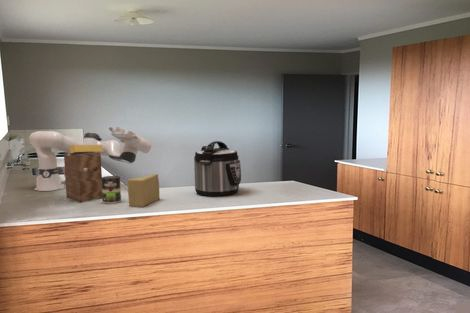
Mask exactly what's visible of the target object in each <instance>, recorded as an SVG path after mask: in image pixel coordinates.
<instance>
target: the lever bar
mask: <svg viewBox="0 0 470 313" xmlns="http://www.w3.org/2000/svg"><path fill="white" fill-rule="evenodd" d="M85 152H94V153H100V152H103V146H102V145H73V146H70V153H85Z"/></svg>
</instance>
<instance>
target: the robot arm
mask: <svg viewBox="0 0 470 313" xmlns="http://www.w3.org/2000/svg"><path fill="white" fill-rule="evenodd" d="M108 131H110V135H111V136H113V137H114V138H116V139H117V140H119V142H120V143H119V142H118V141H117V140H116V139H110V140H105V141H102V140H103V139H102V138H101V137H100V135H99V134H97V133H95V132H94V131H93V132H92V131H89V132H86V133H85V134H84V136H83V141H81V140H80V139H77V138H75V137H71V136H68V135H63V134H62V133H61V132H58V131H54V130H38V131H34V132H31V133H30V135H29V137H28V141H29V144H30V145H31V146H33V148H34V150H35V153H36V155H37V159H38V171H37V172H38V176H36V187H35V188H34V189H33V190H34V191H39V192H49V191H57V190H58V191H59V190H64V189H65V184H64V183H63V182H62V180H61V176H60V174H59V168H58V160H57V159H58V158H57V155H56V154H55V153H54V152H53V150H52V149H54V150H56V151H58V152H63V153H70V146H73V145H102V146H103V152H100V154H101V156H105V157H108V158H110V159H111V160H112V161H113V160H114V161H118V162H122V163H124V164H125V163H126V164H133V163H134V162H135V161H136V159H137V154H138V151H139V152H141V153H143V154H148V153H149V152H150V150H151V148H152V143H151V142H150V141H148V140H147V139H146V138H144V137H143V136H140V135H139V134H137V133H136V132H134V131H133V130H130V129H123V128H120V127H118V126H117V127H116V128H115V129H114V128H113V127H111V126H110V127H109V126H108ZM121 143H123V144H124V145H123V147H122V144H121Z"/></svg>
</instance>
